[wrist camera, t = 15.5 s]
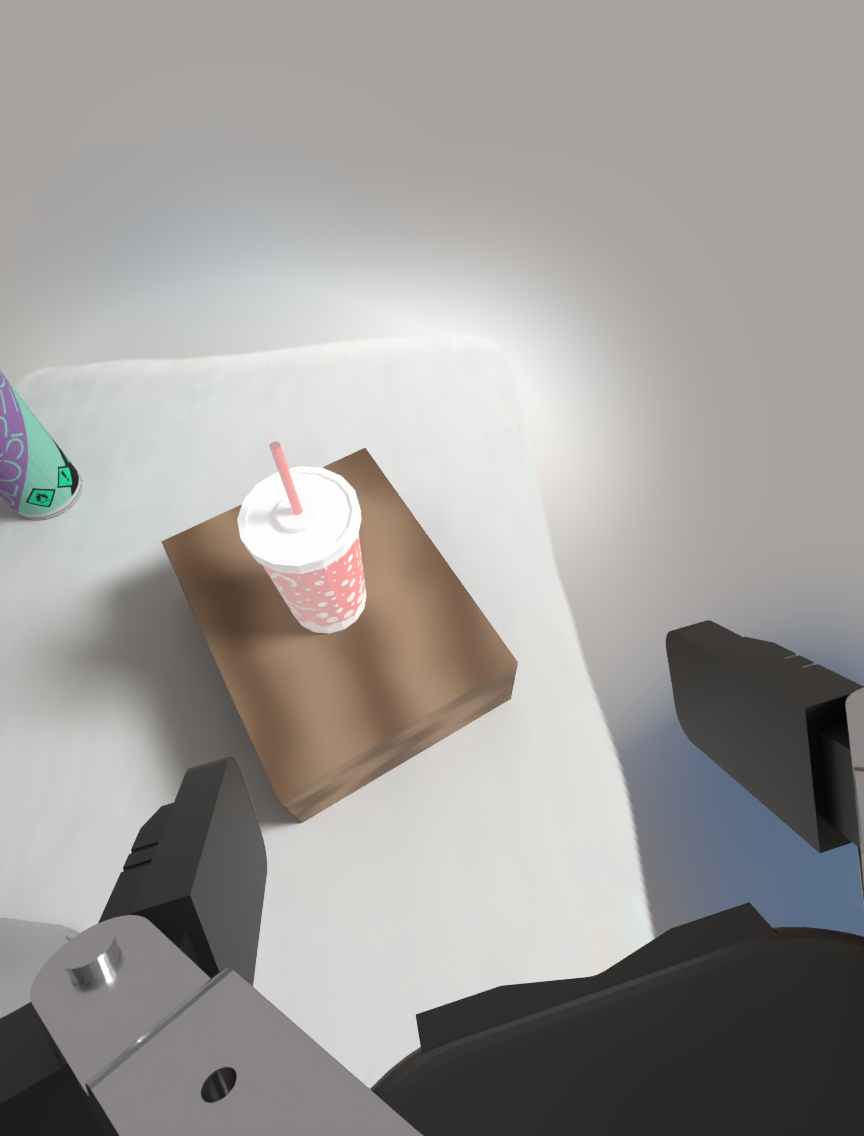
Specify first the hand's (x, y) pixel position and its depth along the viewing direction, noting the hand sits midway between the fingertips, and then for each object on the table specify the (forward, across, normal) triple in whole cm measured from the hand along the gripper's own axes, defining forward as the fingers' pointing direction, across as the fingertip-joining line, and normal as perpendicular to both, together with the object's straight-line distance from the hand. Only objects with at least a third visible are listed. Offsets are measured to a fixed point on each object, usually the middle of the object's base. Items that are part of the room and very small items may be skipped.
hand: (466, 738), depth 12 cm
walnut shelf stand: (+34, +4, +8) cm, 35 cm away
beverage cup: (+29, +3, +4) cm, 30 cm away
